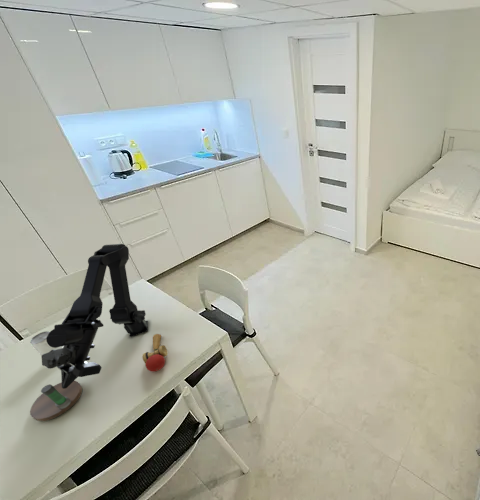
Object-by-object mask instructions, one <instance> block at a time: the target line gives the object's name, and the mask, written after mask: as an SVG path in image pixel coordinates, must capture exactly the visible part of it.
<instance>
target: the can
mask: <svg viewBox="0 0 480 500" xmlns="http://www.w3.org/2000/svg"><path fill="white" fill-rule="evenodd" d="M49 333H50V331H42V332H39V333H37V334H36V335H33V336H32V338H31V339H30V341H29V343H30V344H31V347H32V348H33V350H35V351H36V352H37V354H39V355H40V356H42V355H43V354H46V353H48V352H50V351H51V350H56V349H61V348H63V347H64V346H61V347H57V348H54V347H51V346H49V345H48V343H47V340H46V338H47V336H48V334H49Z"/></svg>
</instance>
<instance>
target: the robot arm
mask: <svg viewBox="0 0 480 500" xmlns="http://www.w3.org/2000/svg"><path fill="white" fill-rule="evenodd" d="M129 259H130V250H129V247H128V246H126V245H125V244H124V243H112V244H111V243H110V244H104V245H103V246H101V248H100V249H98V250H96V251H94V252H93V255H91V256H89V257H88V258H87V264H88V266H87V269H86V274H85V277H84V281H83V285H82V289H81V292H80V295H79V296H78V297H77V298H76V299H75V300H74V301H73V303H72V305H71V307H70V310H69V312H68V314H67V315H66V317H65V318H64V319H63V321H62V322H61V323H59V324H54V326H53V328H52V330H49V332H50V333H49V334H48V336H47V338H46V340H47V343H48V345H49V346H51V347H54V348H57V347H61V346H64V347H63V348H61V349H56V350H51V351H50V352H48V353H46V354H43V355H42V356H41V355H40V356H41V366H44V367H46V369H48V370H49V369H50V370H51V369H55V368H57V369H59V371H60V374H61V375H60V377H61V382H62V388H63V389H65V388H67V387H68V386H69V385H70V384H71V383H72V382H73V381H76V379H77V378H83V377H89V376H94V375H99V374H100V373H101V371H102V368H103V367H102V366H101V365H100V364H99V363H97V362H96V361H90V360H91V356H89V354H90V351H91V349H95V346H96V344H94V340H95V339H96V335H97V332H98V330H99V328H103V327H104V323H103V322H102V321H101V320H100V319H99V318H100V317H101V316H102V313H103V300H102V298H101V291H102V288H103V284H104V280H105V276H106V271H107V268H108V270H109V276H110V282H111V287H112V288H111V289H112V294H113V300H114V304H113V306H112V308H110V309H109V310H108V312H109V317H110V318H109V319H110V320H111V322H112V323H114V324H115V325H123V328H124V330H125V332H126V333H127V334H128V335H129V338H132V337H136V336H138V335H141V334H145V333H147V332H148V330H149V321H148V320H146V315H147V313H146V311H145V310H144V309H143V310H142V309H141V310H138V306H137V305H136V304H135V303H134V302H133V301H132V300H131V295H130V287H129V281H128V276H127V275H128V274H127V270H126V265H127V263H128V262H129ZM89 361H90V362H89Z"/></svg>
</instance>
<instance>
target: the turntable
mask: <svg viewBox="0 0 480 500" xmlns="http://www.w3.org/2000/svg"><path fill="white" fill-rule="evenodd" d="M40 392H41V394H40V395H39V396H38V397H37V398H36V399H35V400H34V402H33V403H32V405H31V407H30V410H29V415H30V417H31V418H32V419H34V420H35V421H38V422H46V421H50V420H53V419H55V418H57V417H59V416H61V415H63V414H64V413H66V412H67V411H69V410H70V409H71V408H72V407H73V406H74V405H75V404H76V403H77V402H78V401H79V399H80V398H81V396H82V393H83V386H82V385H81V383H80V382H79V381H77V380H74V381H73V382H72V383H71V384H70V385H69V386H68V387H67V388H65V389H63V388H62V381H61V382H59V383H57V384H55V385H52V384H46V385H44V386H43V387H42V388H41V390H40Z"/></svg>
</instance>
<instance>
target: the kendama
mask: <svg viewBox="0 0 480 500" xmlns="http://www.w3.org/2000/svg"><path fill="white" fill-rule="evenodd" d="M161 339H162V335H161V334H159V333H156V334H153V336H152V349H153V351H152V352H149V351H146V352H144V353H142V357H141V358H142V361H143V363H144V364H145V369H146V370H148V371H149V372H152V373H154V372H158V371H160V370H161V369H163V368H164V367H165V365H166V359H165V357H167V356H168V354H169V352H168V350H167V347H166V346H165V345H163V344H162V345H161Z"/></svg>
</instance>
